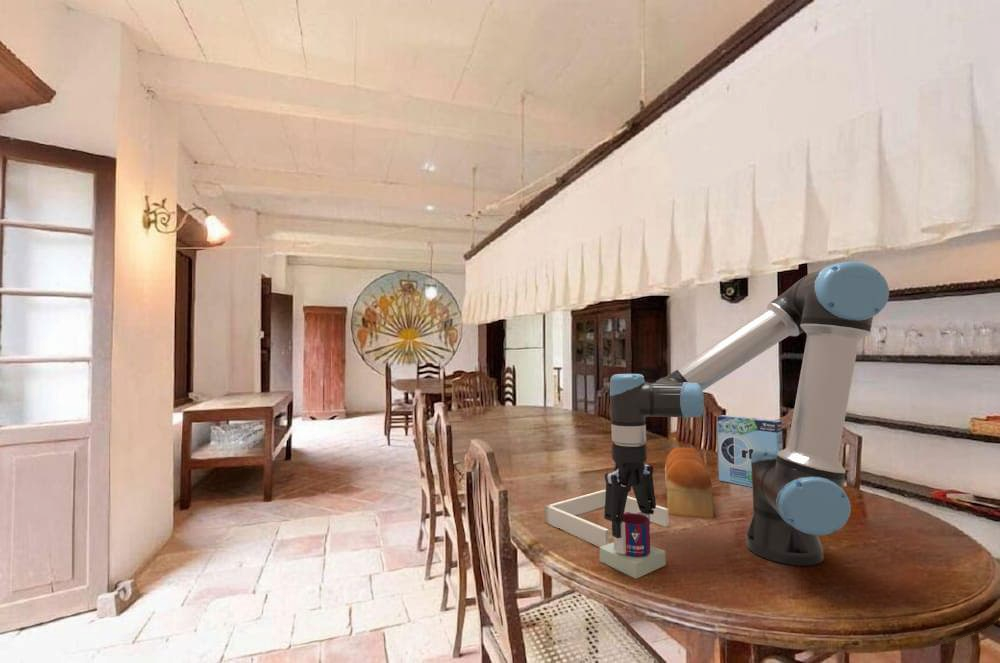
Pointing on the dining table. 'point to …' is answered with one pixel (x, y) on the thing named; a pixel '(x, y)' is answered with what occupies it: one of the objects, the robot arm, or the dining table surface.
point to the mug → (637, 534)
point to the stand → (632, 560)
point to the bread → (688, 484)
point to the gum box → (744, 445)
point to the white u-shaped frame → (588, 531)
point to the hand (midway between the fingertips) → (632, 546)
